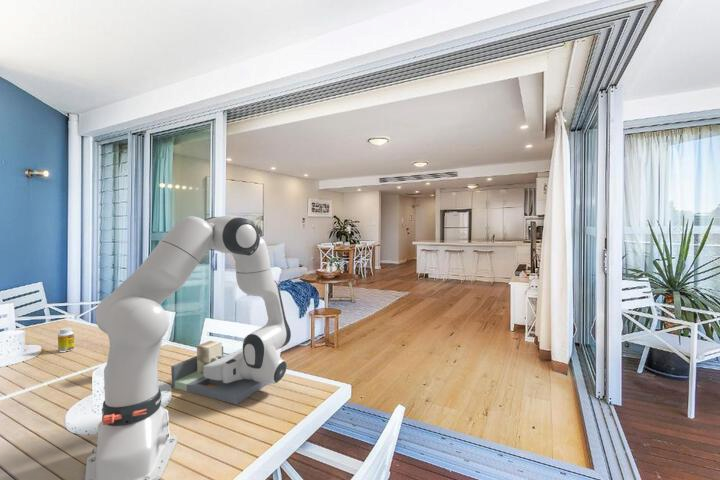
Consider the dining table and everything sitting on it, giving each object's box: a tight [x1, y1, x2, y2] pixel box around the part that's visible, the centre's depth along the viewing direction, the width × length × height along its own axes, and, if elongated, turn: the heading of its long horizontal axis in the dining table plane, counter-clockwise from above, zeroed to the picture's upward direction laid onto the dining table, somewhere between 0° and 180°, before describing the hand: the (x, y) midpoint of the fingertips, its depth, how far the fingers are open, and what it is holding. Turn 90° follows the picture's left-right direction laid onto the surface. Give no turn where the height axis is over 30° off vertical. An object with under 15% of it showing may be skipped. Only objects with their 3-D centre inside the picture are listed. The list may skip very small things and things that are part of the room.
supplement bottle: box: [57, 326, 75, 352], centre depth 154 cm, size 6×6×10 cm
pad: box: [174, 371, 204, 392], centre depth 126 cm, size 6×22×2 cm, turn 156°
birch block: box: [196, 340, 223, 374], centre depth 125 cm, size 6×6×10 cm
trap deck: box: [170, 345, 268, 406], centre depth 121 cm, size 30×22×8 cm
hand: (215, 358), depth 124 cm, fingers closed
